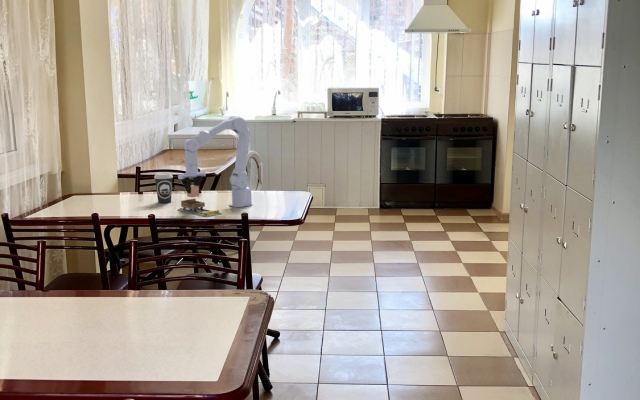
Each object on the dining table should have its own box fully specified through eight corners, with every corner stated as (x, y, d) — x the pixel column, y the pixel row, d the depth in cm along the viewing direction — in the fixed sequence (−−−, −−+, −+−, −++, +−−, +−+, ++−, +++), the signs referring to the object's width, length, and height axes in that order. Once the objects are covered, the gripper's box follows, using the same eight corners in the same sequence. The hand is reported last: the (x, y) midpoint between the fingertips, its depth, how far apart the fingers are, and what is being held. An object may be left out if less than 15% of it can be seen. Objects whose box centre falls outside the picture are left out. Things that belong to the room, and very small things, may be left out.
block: (194, 195, 330) (193, 185, 329) (199, 196, 327) (198, 186, 326) (187, 196, 327) (186, 186, 326) (192, 197, 325) (191, 187, 324)
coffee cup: (178, 201, 353) (176, 172, 350) (166, 204, 345) (165, 175, 342) (163, 200, 357) (161, 171, 354) (151, 203, 348) (149, 174, 346)
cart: (195, 206, 334) (194, 198, 333) (204, 208, 329) (204, 200, 328) (181, 208, 329) (180, 200, 328) (191, 211, 323) (190, 202, 322)
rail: (192, 207, 336) (192, 204, 336) (221, 214, 321) (221, 210, 320) (177, 210, 330) (177, 206, 330) (206, 216, 314) (206, 213, 314)
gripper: (199, 162, 332) (200, 189, 335) (173, 165, 322) (175, 193, 325) (207, 163, 328) (208, 191, 330) (182, 166, 317) (183, 195, 320)
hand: (192, 192), depth 327 cm, fingers closed on block, 4 cm apart
